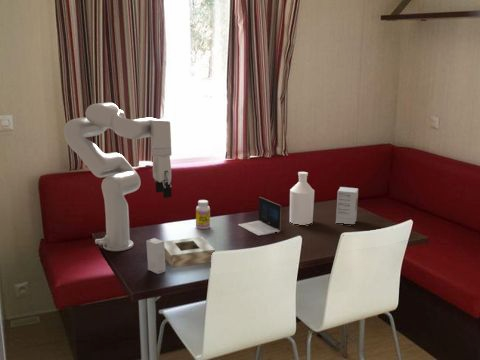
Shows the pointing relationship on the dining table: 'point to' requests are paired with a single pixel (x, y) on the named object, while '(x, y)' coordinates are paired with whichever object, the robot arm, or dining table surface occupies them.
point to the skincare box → (156, 255)
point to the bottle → (301, 201)
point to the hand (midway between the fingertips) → (163, 194)
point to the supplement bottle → (203, 215)
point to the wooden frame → (187, 251)
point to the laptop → (265, 219)
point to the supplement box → (347, 205)
